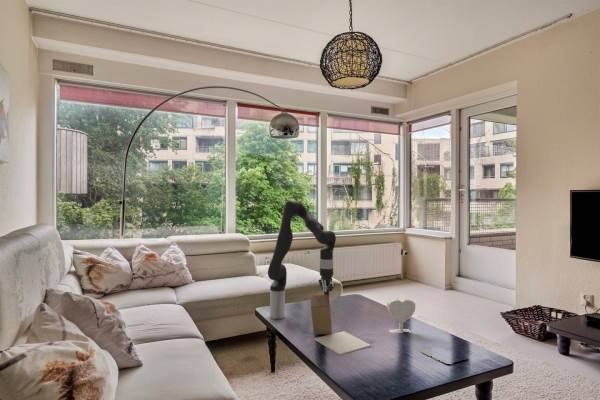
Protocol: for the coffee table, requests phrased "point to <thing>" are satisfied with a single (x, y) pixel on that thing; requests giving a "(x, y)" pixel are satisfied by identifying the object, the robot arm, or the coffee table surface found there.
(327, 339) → the mat
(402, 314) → the heart sculpture
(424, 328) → the coffee table surface
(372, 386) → the coffee table surface
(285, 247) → the robot arm
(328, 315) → the block
